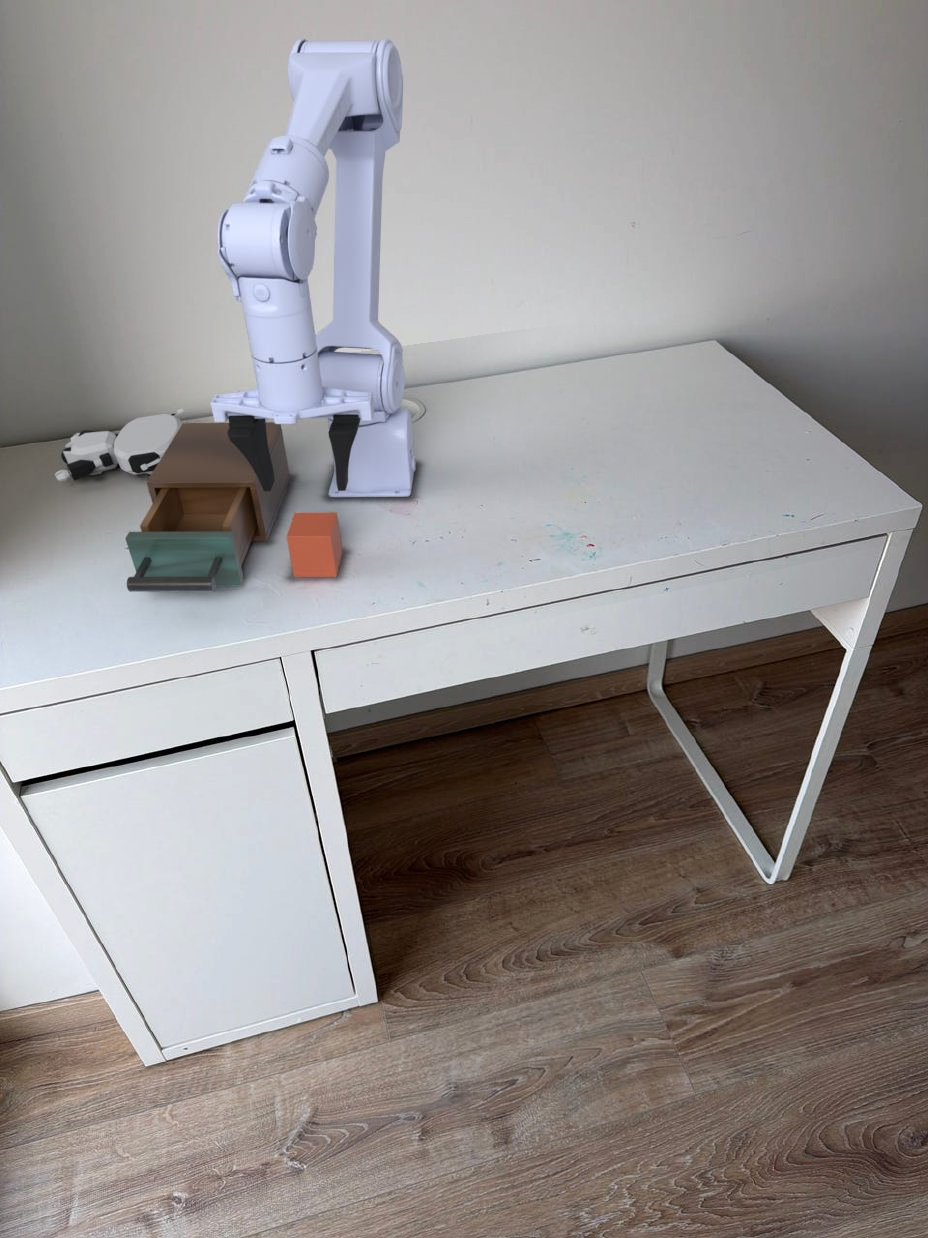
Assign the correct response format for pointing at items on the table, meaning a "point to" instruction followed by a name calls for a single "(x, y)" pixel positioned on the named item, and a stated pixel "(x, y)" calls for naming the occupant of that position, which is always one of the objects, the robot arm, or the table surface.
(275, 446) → the cabinet
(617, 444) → the table surface
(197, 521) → the drawer
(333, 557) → the block
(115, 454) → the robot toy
